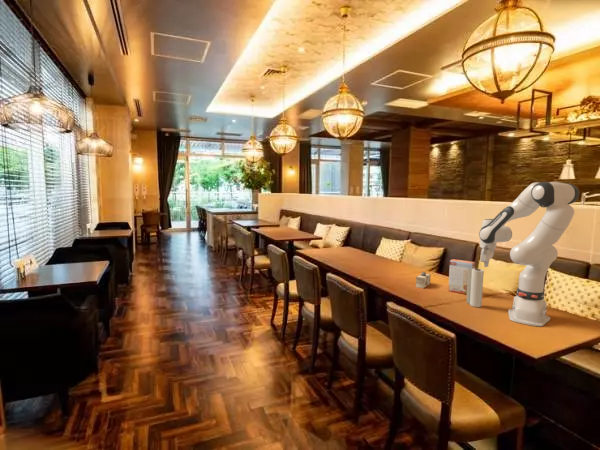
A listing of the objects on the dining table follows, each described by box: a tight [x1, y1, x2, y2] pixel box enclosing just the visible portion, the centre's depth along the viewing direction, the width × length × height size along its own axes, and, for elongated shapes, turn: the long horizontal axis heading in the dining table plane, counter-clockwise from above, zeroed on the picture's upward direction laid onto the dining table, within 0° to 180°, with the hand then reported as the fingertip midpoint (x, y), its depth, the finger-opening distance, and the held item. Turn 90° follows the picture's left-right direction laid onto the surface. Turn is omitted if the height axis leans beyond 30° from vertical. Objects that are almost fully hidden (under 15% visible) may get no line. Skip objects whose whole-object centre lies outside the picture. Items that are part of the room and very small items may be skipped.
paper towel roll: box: [465, 268, 485, 308], centre depth 199 cm, size 7×6×21 cm
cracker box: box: [447, 258, 476, 295], centre depth 223 cm, size 14×6×21 cm, turn 47°
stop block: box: [415, 271, 432, 289], centre depth 239 cm, size 14×5×9 cm, turn 141°
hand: (486, 266), depth 213 cm, fingers closed
